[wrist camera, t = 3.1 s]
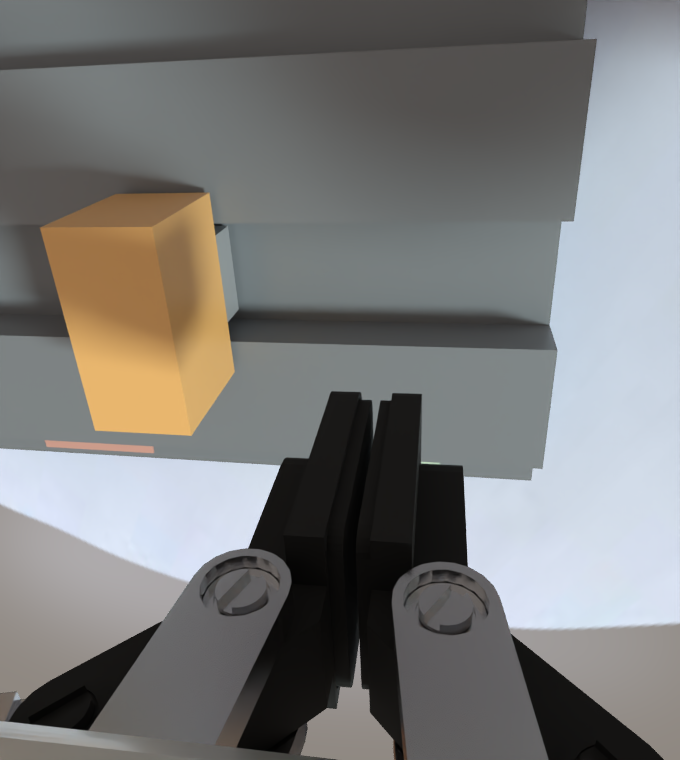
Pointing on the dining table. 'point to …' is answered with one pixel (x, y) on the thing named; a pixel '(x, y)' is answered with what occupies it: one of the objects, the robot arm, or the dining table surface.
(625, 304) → the dining table surface
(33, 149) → the grey slotted track
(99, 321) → the switch knob
